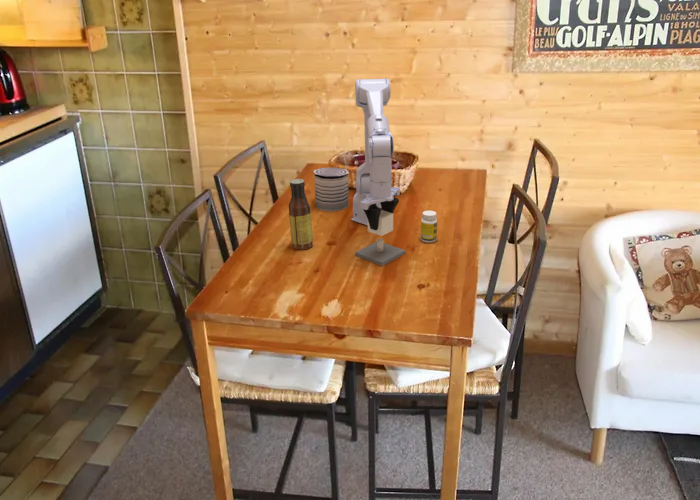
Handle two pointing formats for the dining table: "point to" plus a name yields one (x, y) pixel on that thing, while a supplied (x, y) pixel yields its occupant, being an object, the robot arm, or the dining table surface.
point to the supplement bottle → (429, 226)
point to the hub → (383, 224)
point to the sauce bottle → (300, 216)
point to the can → (331, 189)
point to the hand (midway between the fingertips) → (380, 226)
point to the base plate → (380, 252)
